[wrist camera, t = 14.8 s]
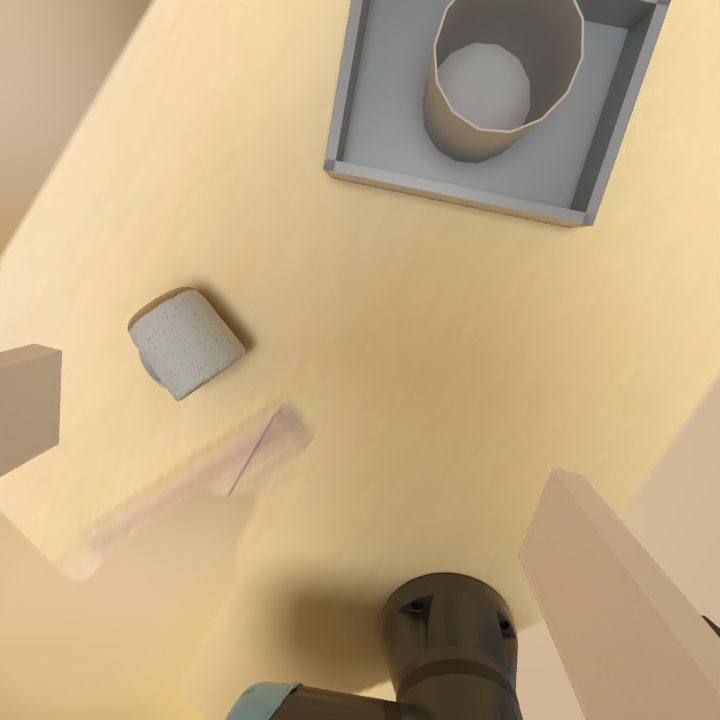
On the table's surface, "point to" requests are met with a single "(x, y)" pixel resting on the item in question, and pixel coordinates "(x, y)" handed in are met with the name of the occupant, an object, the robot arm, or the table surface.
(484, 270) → the table surface
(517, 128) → the cup
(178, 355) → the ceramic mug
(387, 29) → the slate bin
